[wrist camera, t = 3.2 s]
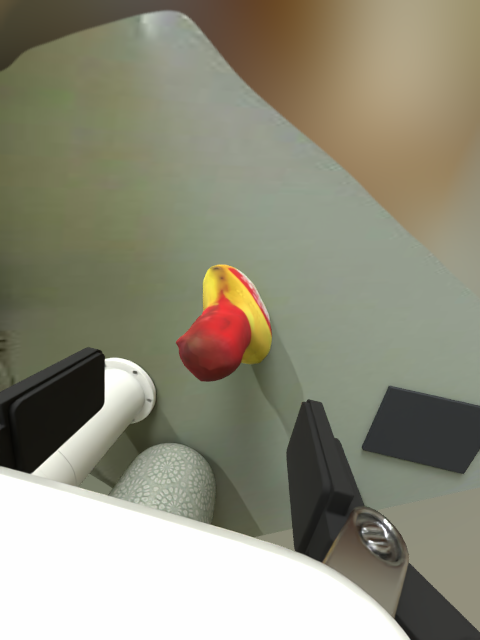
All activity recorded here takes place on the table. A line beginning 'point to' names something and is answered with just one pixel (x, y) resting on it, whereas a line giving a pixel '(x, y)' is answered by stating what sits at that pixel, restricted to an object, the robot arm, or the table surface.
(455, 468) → the flat black rectangular pad
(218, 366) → the bottle
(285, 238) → the table surface
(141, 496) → the planter
